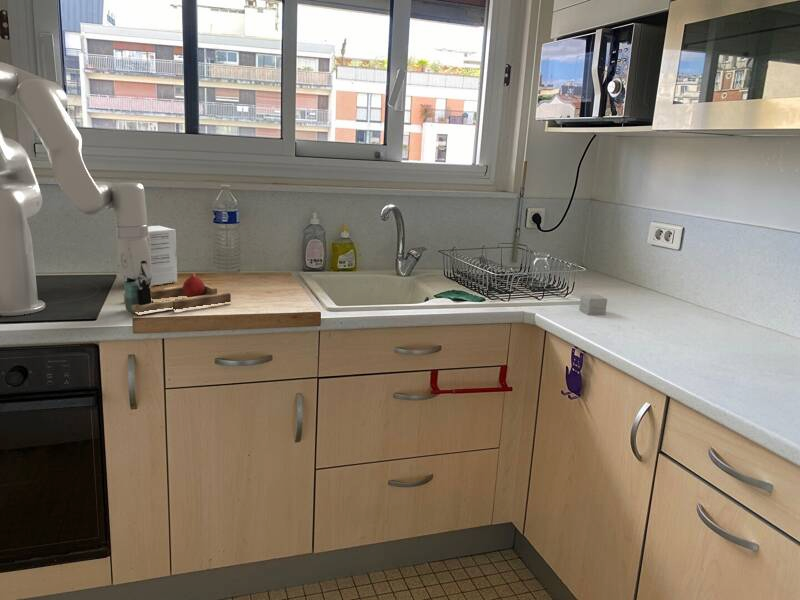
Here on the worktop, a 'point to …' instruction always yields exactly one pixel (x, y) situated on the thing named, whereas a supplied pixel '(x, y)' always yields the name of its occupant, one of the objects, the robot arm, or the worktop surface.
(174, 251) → the supplement box
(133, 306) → the tan frame
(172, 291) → the lane rails
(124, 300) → the broken strip
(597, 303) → the small box
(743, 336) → the worktop surface
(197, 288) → the onion
